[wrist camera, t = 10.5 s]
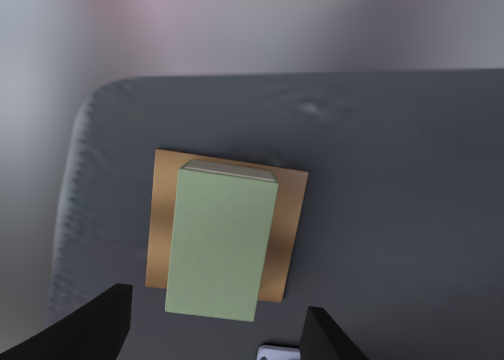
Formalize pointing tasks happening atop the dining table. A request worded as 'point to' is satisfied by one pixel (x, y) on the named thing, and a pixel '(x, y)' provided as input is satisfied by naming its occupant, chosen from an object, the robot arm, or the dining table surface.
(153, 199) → the cork mat
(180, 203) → the pale green rectangular block
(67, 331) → the robot arm
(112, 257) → the dining table surface
